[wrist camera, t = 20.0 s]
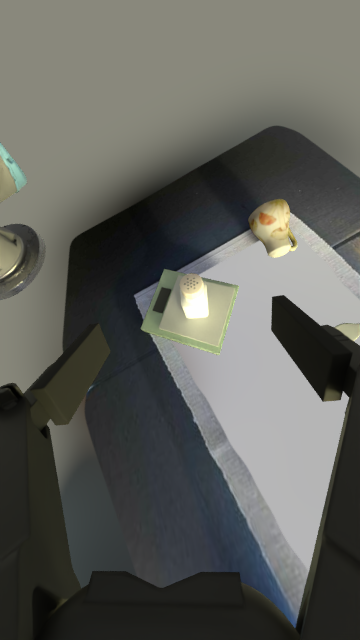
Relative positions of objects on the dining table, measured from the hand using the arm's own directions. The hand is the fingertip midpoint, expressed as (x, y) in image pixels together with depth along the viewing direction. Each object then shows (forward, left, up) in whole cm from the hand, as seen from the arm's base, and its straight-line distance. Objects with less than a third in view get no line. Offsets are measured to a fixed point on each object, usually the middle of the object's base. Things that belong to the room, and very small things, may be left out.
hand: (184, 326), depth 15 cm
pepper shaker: (-3, +8, -19) cm, 21 cm away
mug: (+6, +27, -22) cm, 36 cm away
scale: (-5, +8, -22) cm, 24 cm away
